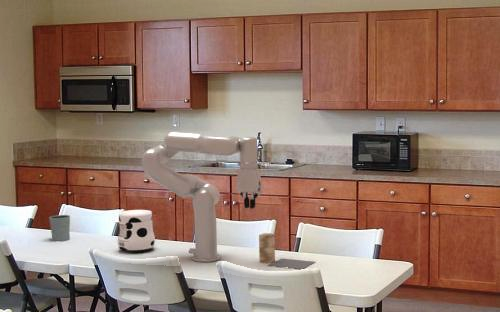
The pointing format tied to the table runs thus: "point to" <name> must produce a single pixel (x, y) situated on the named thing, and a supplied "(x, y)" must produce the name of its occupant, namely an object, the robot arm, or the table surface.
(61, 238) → the grey cup
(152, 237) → the milk container
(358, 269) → the table surface
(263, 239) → the maple block
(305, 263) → the charcoal mat
